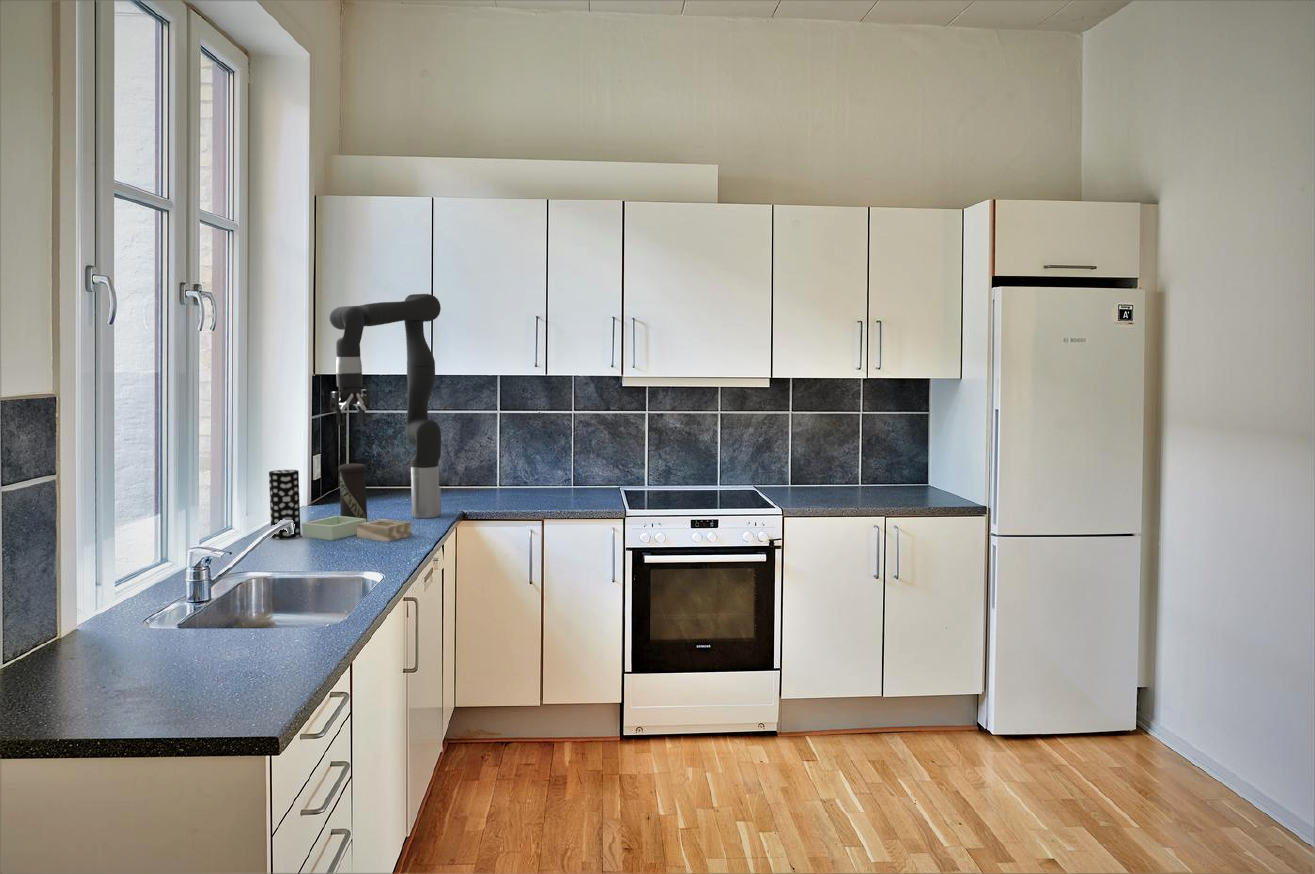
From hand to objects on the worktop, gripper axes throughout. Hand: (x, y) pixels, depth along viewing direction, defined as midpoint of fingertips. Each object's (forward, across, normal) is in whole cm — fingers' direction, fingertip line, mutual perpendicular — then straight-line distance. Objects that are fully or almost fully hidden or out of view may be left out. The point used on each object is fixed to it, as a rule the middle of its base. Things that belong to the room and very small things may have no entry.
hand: (351, 424), depth 285 cm
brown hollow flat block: (+34, +6, +18) cm, 39 cm away
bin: (+34, +10, +2) cm, 35 cm away
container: (+34, -8, -8) cm, 36 cm away
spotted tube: (+34, +16, -12) cm, 39 cm away
